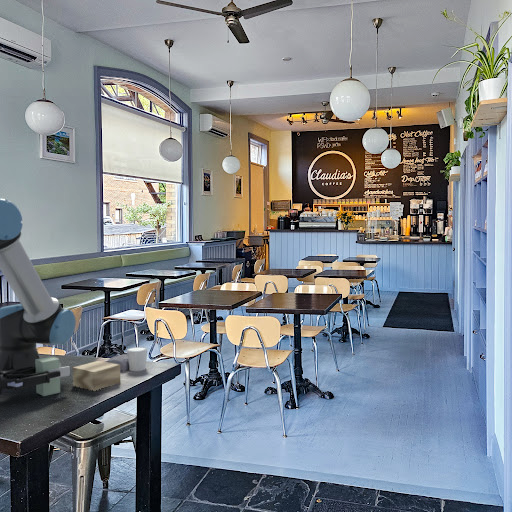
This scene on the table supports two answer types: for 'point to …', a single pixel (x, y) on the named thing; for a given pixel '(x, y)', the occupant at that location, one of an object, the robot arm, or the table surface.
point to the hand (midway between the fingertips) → (64, 368)
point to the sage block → (54, 384)
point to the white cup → (137, 358)
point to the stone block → (120, 361)
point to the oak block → (96, 375)
